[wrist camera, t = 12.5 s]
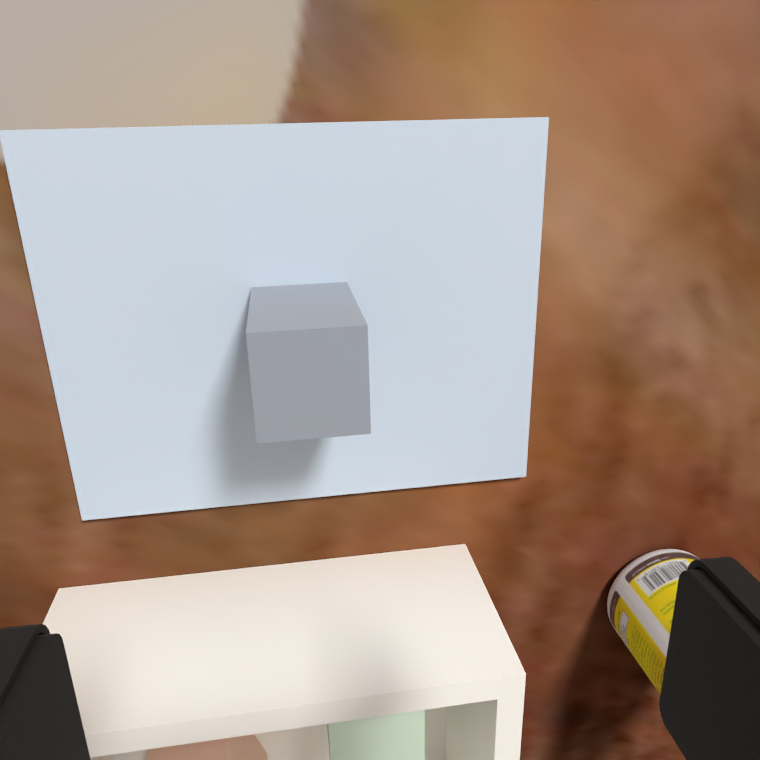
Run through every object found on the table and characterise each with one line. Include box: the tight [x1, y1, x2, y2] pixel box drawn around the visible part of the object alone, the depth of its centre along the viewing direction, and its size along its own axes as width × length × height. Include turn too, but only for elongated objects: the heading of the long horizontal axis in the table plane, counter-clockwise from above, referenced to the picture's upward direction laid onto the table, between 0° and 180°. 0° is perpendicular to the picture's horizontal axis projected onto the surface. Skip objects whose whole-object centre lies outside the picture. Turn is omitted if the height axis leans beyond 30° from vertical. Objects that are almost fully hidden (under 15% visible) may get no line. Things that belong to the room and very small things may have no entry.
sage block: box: [327, 710, 425, 760], centre depth 30 cm, size 4×4×4 cm
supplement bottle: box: [607, 549, 699, 694], centre depth 29 cm, size 6×6×10 cm
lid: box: [0, 117, 549, 520], centre depth 24 cm, size 19×15×7 cm
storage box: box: [43, 544, 526, 760], centre depth 29 cm, size 18×14×8 cm
